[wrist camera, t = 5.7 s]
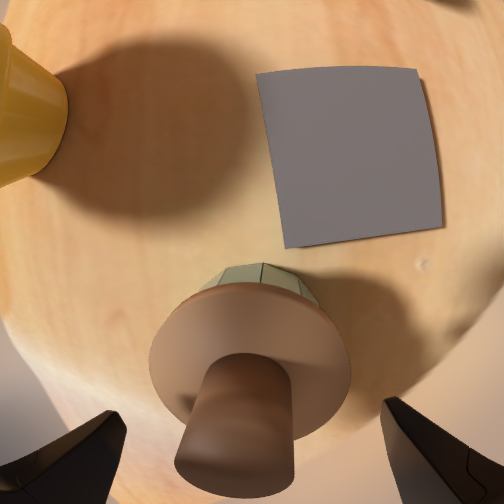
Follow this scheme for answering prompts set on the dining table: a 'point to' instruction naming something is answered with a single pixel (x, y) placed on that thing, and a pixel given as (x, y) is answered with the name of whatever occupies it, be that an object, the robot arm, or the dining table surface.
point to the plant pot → (27, 113)
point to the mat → (350, 152)
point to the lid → (247, 383)
